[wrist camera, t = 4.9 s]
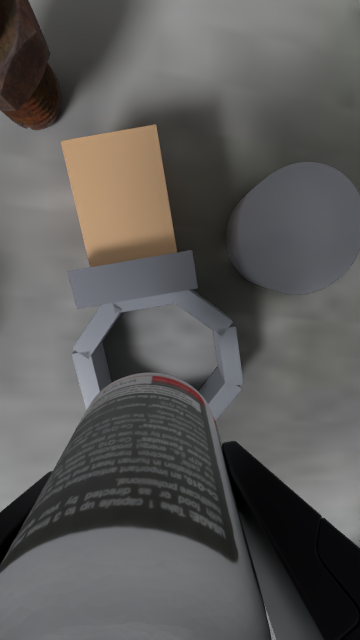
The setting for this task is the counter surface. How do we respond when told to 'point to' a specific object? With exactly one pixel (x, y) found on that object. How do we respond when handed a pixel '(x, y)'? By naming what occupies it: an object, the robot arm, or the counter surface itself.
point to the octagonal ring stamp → (135, 256)
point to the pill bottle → (135, 529)
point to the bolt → (25, 68)
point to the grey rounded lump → (296, 229)
